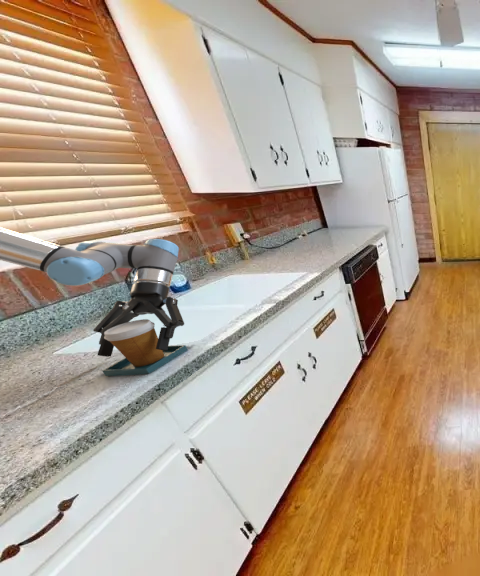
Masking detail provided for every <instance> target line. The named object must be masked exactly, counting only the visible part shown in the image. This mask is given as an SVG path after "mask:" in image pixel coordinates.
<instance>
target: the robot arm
mask: <svg viewBox="0 0 480 576" xmlns="http://www.w3.org/2000/svg"><path fill="white" fill-rule="evenodd" d="M179 251H180V247H179V246H178V245H177V244H176V243H174V242H172V241H170V240H166V239H161V238H149V239H147V240H146V241H145V242H144V243H143V244H127V243H126V244H125V243H117V242H116V243H115V242H106V241H88V240H87V241H82V242H79V243H78V245H77V246H75V249H73V248H70V247H66V246H62V245H59V244H56V243H53V242H50V241H46V240H43V239H39V238H38V237H33V236H30V235H26V234H23V233H19V232H17V231H13V230H10V229H7V228H3V227H0V261H2V262H5V263H10V264H14V265H18V266H22V267H25V268H28V269H33V270H36V271H39V272H40V271H41V272H43V273H46V274H47V276H48V277H49V279H51V280H53V281H55V282H56V283H58V284H61V285H64V286H74V287H75V286H77V287H78V286H83V285H86V284H89V283H92V282H95V281H97V280H100V279H101V278H102V277H103V276H105V275H107V274H109V273H112V272H114V271H116V270H117V269H136V272H135V276H134V277H133V284H132V286H131V289H130V292H129V295H130V299H129V301H122V300H116V302H115V303H114V305H113V307H112V308H111V309H110V311H109V312H107V314H106V315H105V316H104V317H103V318H102V319H101V320H100V321H99V322H98V323H97V325H96V326H95V327H94V328H93V330H92V331H93V332H95V333H100V334H101V336H100V338H99V341H98V345H99V349H98V351H97V356H99V357H106V358H108V357H109V358H110V357H112V355H113V351H114V347H115V346H114V345H113V344H112V343H111V342H110V341H108V340H106V339H104V336H105V335H104V332H105V331H107V330H108V329H110V328H112V327H115V326H118V325H120V324H124V323H127V322H131V321H133V319H135V318H137V317H139V316H144V315H154V316H155V317H157V319H158V320H159V321H160V322H161V323H162V324H163V325H162V326H163V327H160V329H159V334H158V342H157V346H156V349H159V350H167V349H168V346H170V345H169V344H170V340H171V339H173V337H174V334H175V330H176V329H177V328H178V327H183V326H185V321H184V319H183V316H182V314H181V311H180V309H179V307H178V302H179V300H178V299H177V298H175V297H172V296H169V293H170V286H171V285H172V280H173V276H174V272H175V269H176V266H177V262H178V259H179ZM163 306H166V309H167V312H168V313H166V311H165V310H164V308H163ZM168 314H169V315H168Z"/></svg>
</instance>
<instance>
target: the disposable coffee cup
mask: <svg viewBox="0 0 480 576" xmlns="http://www.w3.org/2000/svg"><path fill="white" fill-rule="evenodd" d="M104 335H105V336H104V339H106V340H108V341H110V342H111V343H112V344H113V345H114V347H115V348H116V349H117V350H118V352H120V354H122V356H123V357H124V358H127V359H128V361H130V362H131V364H132V365H133V366H135V367H139V366H144V365H148V364H151V363H154V362H156V361H158V360H160V359H161V358H163V357H164V353H163V351H162V350H159V349H156V346H157V342H158V338H159V336H158V335H157V331H156V329H155V322H153V321H151V320H150V319H147V318H145V319H144V318H143V319H137V320H130V321H129V322H127V323H124V324H120V325H118V326H115V327H112V328H110V329H108V330H107V331H105V332H104Z"/></svg>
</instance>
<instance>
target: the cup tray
mask: <svg viewBox="0 0 480 576" xmlns="http://www.w3.org/2000/svg"><path fill="white" fill-rule="evenodd" d="M162 351H163V353H164V357H163V358H161V359H160V360H158V361H156V362H154V363H151V364H148V365H144V366H139V367H135V366H133V365H132V364H131V362H130V361H128V359H127V358H126V357H124V358H122V359H121V360H119V361H117V362H114V363H113V364H111V365H109V366H108V367H106V368H104V369H102V370H101V371H102V374H103V375H104V376H105V377H114V376H115V377H120V376H135V375H137V376H138V375H149V374H151V373H153V372H154V371H156V370H157V369H160V368H161V367H163V366H164V365H166V364H168V363H169V362H171V361H172V360H174V359H176V358H177V357H179V356H181V355H182V354H184V353H185V352H187V351H189V349H188V347H187V346H186V344H178V345H175V344H174V345H168V349H167V350H162Z"/></svg>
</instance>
